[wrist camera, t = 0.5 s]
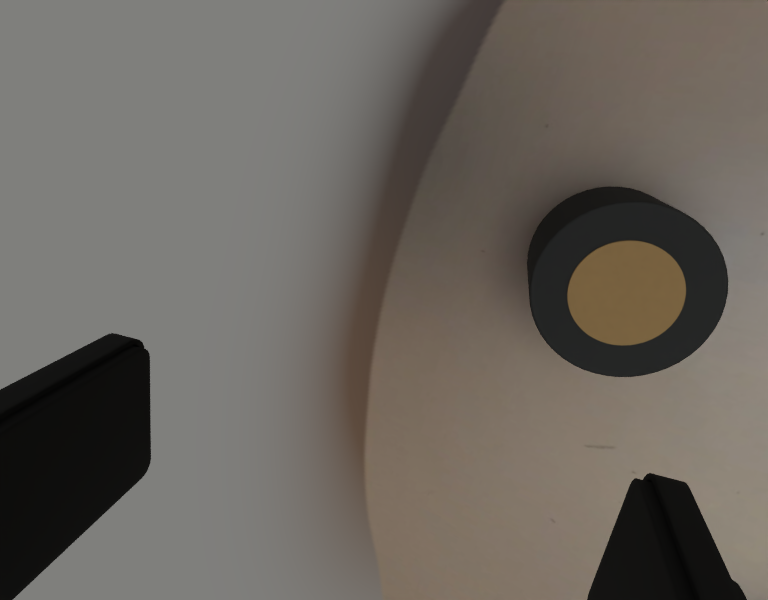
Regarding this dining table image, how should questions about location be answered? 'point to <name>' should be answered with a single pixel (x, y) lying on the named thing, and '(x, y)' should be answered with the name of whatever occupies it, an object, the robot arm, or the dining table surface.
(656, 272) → the tape roll
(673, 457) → the dining table surface
